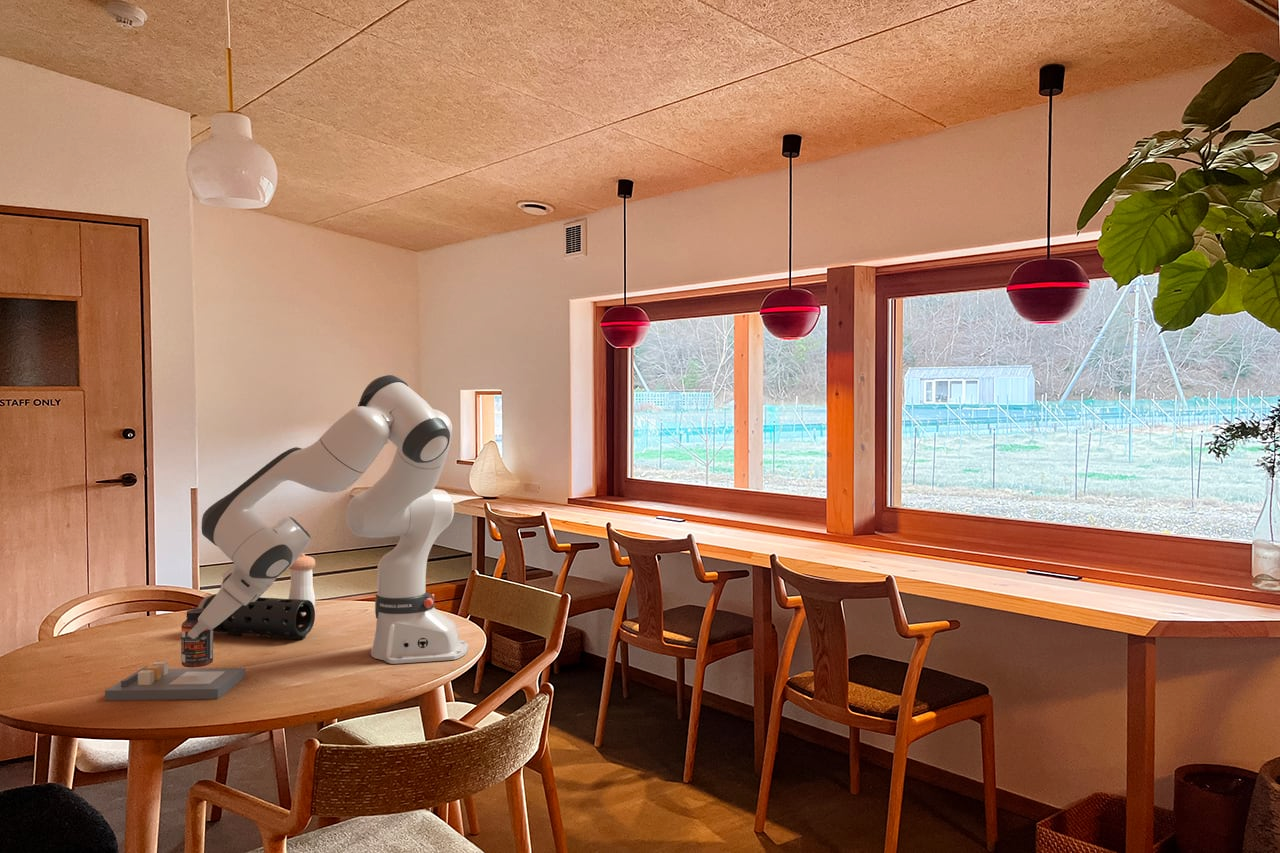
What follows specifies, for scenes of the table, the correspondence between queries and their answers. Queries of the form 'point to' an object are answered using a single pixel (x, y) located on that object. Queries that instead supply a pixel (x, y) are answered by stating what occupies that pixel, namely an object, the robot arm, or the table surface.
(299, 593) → the pepper shaker
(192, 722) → the table surface
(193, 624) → the supplement bottle
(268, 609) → the muzzle brake
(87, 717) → the table surface
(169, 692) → the breaker board
